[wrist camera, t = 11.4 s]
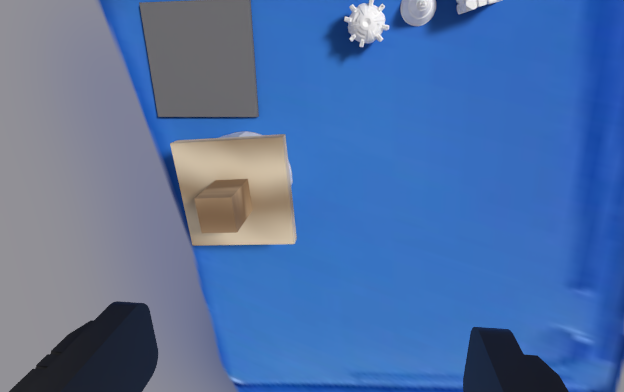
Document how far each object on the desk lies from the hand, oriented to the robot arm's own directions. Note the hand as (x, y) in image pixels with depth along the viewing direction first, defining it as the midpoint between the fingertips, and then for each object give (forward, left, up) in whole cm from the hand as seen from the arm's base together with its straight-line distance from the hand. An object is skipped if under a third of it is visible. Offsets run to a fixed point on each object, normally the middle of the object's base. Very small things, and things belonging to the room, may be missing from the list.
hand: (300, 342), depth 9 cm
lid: (+5, -10, -24) cm, 27 cm away
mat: (-6, -14, -28) cm, 32 cm away
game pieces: (-10, +6, -29) cm, 31 cm away
